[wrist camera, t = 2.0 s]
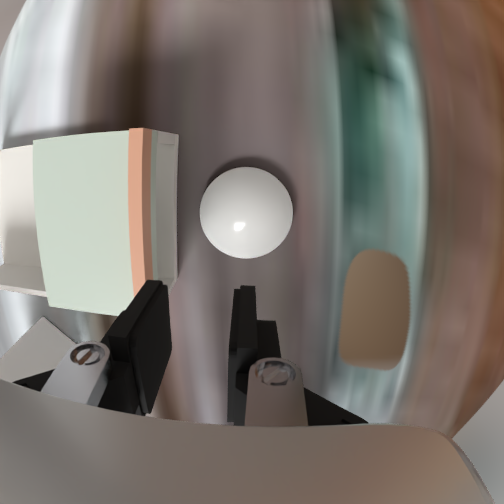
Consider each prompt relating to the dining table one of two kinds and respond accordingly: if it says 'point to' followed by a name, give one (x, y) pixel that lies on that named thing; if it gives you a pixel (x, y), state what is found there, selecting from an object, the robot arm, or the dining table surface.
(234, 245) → the white flat disc
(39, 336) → the milk carton
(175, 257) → the frame with rectangular opening
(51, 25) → the dining table surface
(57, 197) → the cover
